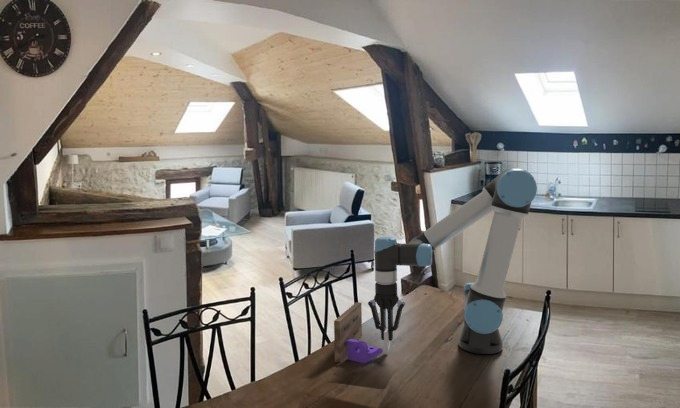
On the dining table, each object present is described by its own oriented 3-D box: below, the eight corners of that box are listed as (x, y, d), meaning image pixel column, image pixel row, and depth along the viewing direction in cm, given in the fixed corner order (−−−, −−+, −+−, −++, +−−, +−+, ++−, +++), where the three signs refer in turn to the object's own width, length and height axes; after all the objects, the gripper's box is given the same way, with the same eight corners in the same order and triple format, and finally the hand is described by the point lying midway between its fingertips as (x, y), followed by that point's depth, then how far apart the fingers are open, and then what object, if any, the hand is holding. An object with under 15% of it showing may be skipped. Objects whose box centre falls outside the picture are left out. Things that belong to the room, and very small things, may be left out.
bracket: (364, 364, 165) (364, 344, 164) (347, 360, 168) (347, 340, 168) (382, 353, 174) (382, 333, 174) (365, 349, 178) (365, 330, 178)
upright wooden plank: (362, 339, 188) (361, 302, 187) (340, 362, 166) (340, 321, 165) (356, 338, 189) (356, 302, 188) (334, 361, 166) (334, 320, 165)
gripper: (407, 280, 172) (408, 347, 174) (371, 278, 177) (372, 343, 178) (402, 285, 165) (403, 355, 167) (364, 283, 170) (366, 351, 171)
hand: (387, 349), depth 172 cm, fingers closed
